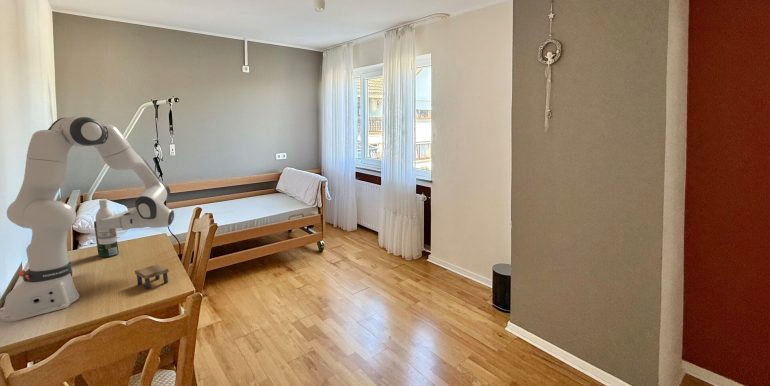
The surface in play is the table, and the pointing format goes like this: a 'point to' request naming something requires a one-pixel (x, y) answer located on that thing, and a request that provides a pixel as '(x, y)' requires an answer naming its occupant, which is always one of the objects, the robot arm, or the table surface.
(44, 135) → the robot arm
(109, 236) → the bath foam
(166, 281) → the brown miniature table
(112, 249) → the coffee jar
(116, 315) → the table surface
